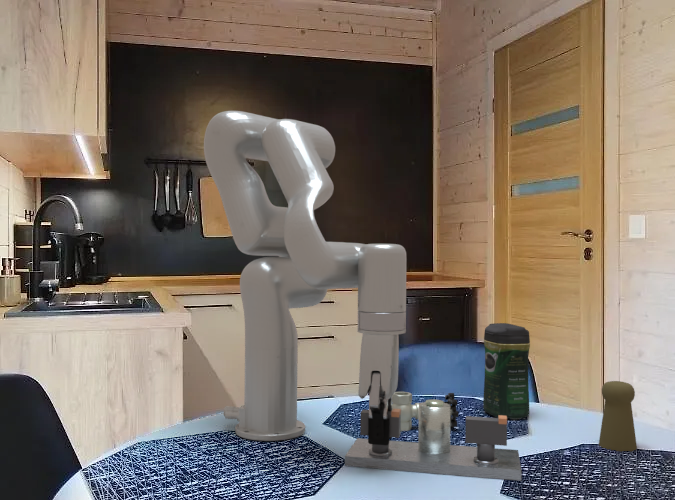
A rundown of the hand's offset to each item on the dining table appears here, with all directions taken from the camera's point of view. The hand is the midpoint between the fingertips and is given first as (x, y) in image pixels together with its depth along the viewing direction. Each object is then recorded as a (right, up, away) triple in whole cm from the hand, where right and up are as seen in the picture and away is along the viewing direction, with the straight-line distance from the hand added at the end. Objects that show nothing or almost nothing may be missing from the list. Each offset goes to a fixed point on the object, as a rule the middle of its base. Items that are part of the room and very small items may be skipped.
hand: (380, 440), depth 102 cm
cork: (+41, -4, +10) cm, 43 cm away
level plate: (+8, -4, 0) cm, 9 cm away
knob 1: (0, -2, 0) cm, 2 cm away
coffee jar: (+28, -4, +32) cm, 42 cm away
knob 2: (+16, -2, -4) cm, 16 cm away
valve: (+9, -4, +21) cm, 23 cm away
